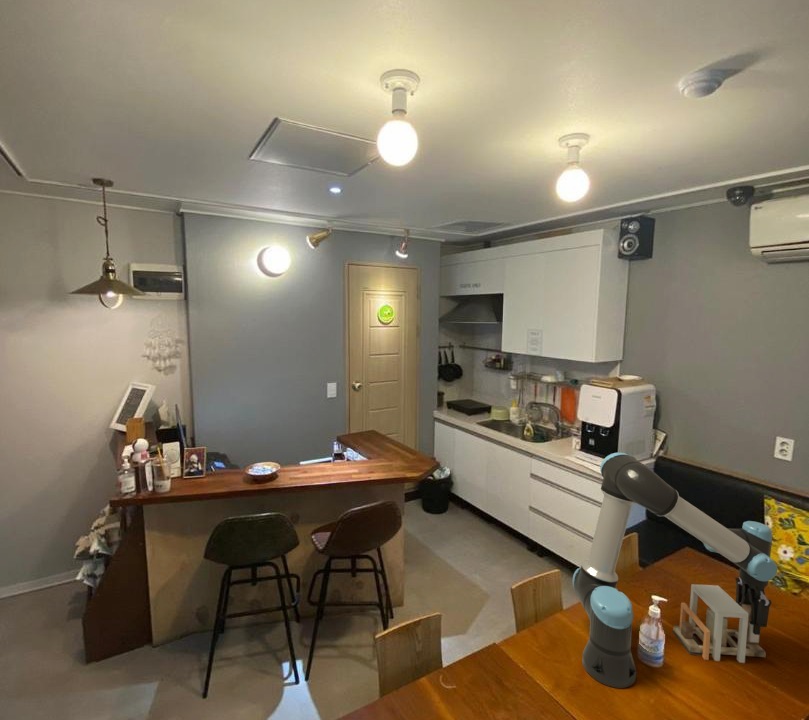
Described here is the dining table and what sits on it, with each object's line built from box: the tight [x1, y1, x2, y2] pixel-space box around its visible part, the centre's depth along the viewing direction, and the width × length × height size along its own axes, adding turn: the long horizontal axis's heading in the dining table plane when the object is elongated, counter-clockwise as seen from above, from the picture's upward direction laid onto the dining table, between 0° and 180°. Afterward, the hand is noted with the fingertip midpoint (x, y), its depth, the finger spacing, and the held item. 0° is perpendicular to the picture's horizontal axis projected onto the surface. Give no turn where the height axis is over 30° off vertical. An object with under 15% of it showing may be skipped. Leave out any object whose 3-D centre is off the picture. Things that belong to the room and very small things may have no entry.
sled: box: [673, 604, 767, 658], centre depth 146 cm, size 23×10×13 cm, turn 85°
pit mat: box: [671, 629, 710, 657], centre depth 147 cm, size 6×11×1 cm, turn 175°
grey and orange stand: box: [679, 583, 748, 664], centre depth 146 cm, size 12×15×16 cm
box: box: [705, 608, 729, 647], centre depth 146 cm, size 5×4×11 cm
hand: (749, 636), depth 145 cm, fingers closed on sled, 3 cm apart
